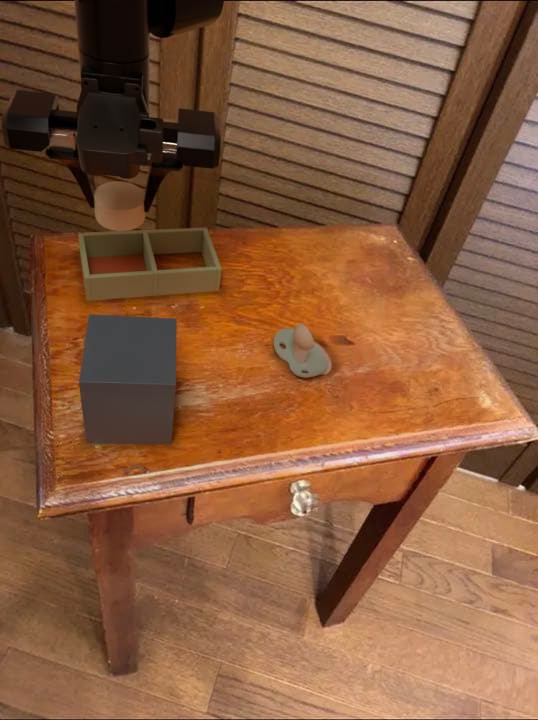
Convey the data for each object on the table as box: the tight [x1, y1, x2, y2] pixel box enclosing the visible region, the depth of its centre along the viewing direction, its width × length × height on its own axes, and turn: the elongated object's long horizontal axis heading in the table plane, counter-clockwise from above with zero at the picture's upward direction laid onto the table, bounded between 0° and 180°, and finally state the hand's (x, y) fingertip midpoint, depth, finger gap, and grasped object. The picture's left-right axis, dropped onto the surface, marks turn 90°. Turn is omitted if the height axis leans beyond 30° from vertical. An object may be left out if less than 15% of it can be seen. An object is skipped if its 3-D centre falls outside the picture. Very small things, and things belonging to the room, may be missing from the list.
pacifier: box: [273, 322, 333, 378], centre depth 66 cm, size 7×6×6 cm
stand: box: [78, 313, 178, 446], centre depth 56 cm, size 8×8×10 cm
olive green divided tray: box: [77, 227, 223, 302], centre depth 72 cm, size 16×8×4 cm, turn 107°
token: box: [94, 180, 146, 232], centre depth 60 cm, size 5×5×2 cm
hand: (119, 207), depth 60 cm, fingers closed on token, 5 cm apart
